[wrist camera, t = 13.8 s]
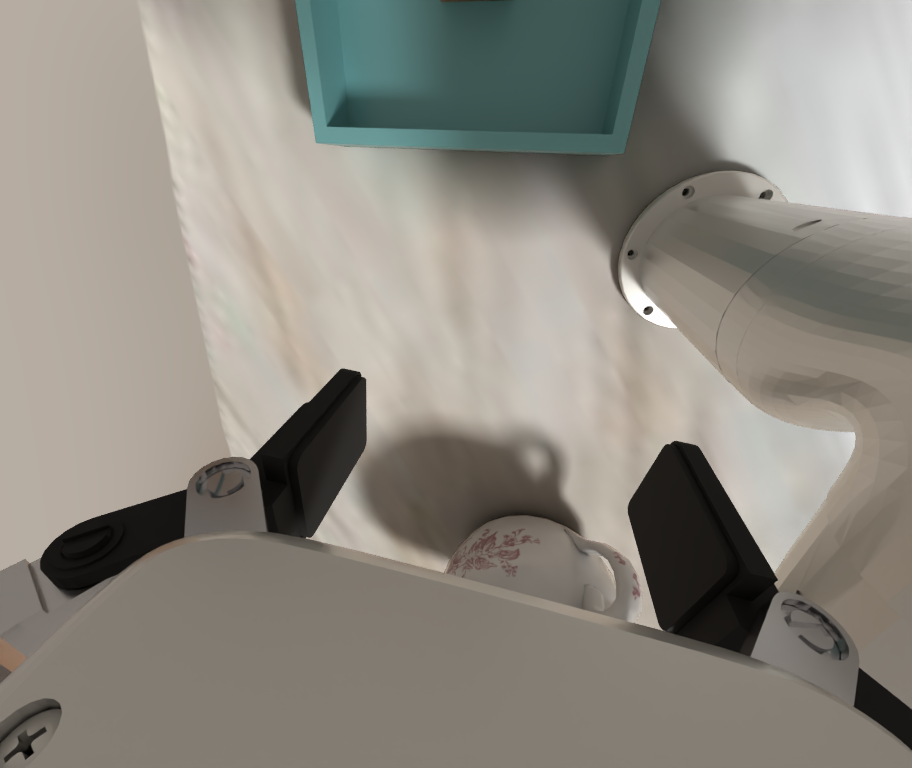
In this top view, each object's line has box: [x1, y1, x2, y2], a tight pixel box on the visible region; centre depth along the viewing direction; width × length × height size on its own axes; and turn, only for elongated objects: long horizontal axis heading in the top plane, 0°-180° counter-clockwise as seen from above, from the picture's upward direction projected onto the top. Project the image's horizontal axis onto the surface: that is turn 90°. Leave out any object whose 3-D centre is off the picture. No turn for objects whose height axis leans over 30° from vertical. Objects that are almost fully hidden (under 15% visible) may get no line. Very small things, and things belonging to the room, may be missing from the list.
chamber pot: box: [444, 515, 642, 623], centre depth 46 cm, size 28×28×21 cm
